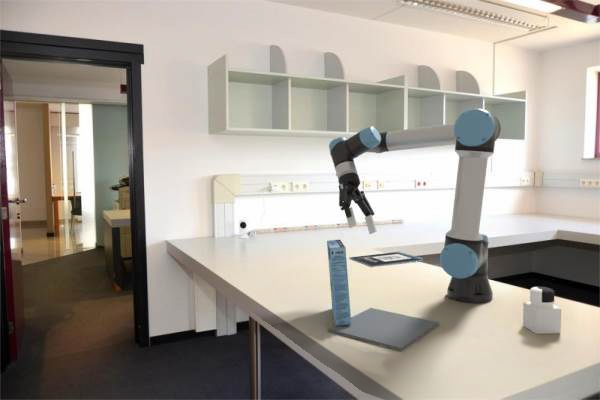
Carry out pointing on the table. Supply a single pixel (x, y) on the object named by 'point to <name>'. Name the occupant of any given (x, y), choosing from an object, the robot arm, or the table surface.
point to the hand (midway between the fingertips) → (363, 229)
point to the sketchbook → (386, 259)
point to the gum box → (339, 282)
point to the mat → (385, 328)
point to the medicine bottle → (542, 312)
